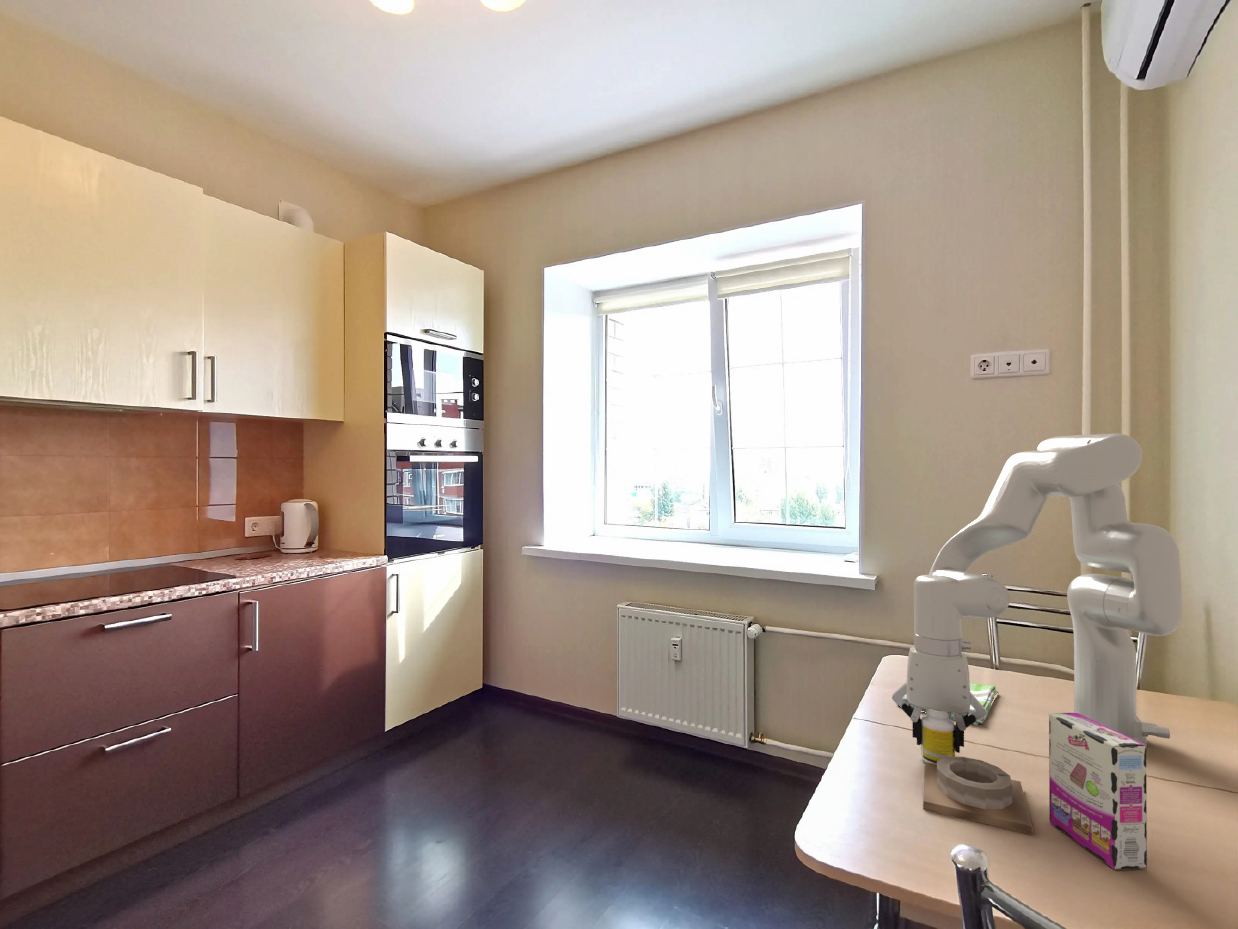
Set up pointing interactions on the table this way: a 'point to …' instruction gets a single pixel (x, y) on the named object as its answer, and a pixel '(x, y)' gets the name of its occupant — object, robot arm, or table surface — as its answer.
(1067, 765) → the candy bar box
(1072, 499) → the robot arm
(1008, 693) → the table surface
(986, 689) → the dish towel
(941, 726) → the supplement bottle
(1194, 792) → the table surface
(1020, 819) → the hub block
